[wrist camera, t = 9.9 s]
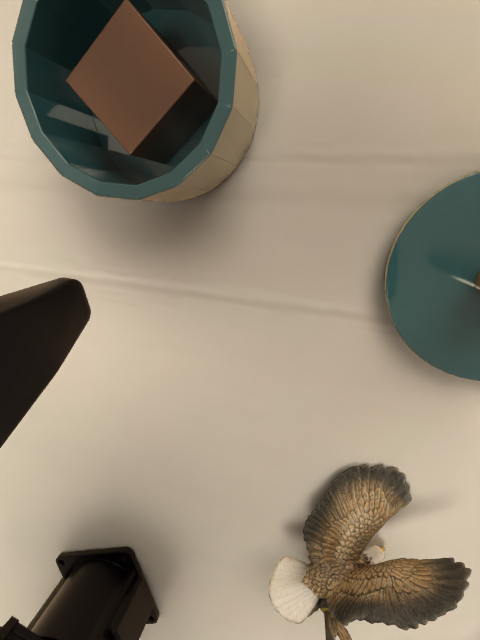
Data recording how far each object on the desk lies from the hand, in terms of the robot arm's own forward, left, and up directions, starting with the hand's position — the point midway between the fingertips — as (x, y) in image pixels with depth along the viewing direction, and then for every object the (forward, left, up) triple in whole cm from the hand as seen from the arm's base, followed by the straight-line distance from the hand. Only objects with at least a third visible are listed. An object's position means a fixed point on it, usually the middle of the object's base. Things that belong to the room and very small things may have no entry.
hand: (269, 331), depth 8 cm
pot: (-5, +9, -14) cm, 17 cm away
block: (-5, +9, -13) cm, 17 cm away
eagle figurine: (-1, -17, -14) cm, 22 cm away
